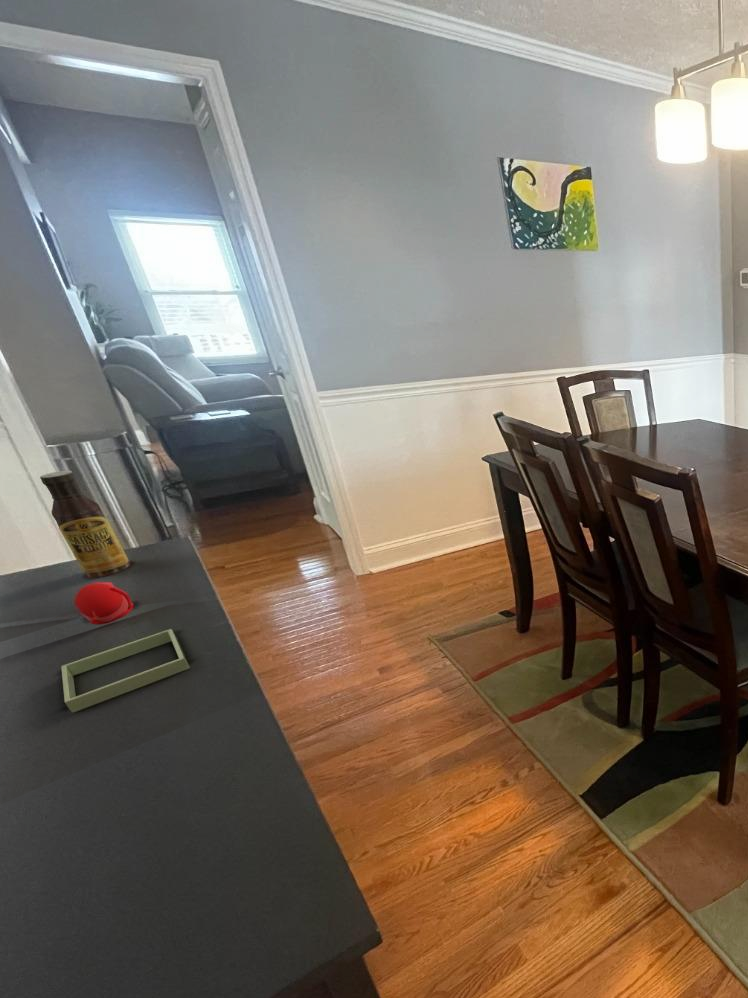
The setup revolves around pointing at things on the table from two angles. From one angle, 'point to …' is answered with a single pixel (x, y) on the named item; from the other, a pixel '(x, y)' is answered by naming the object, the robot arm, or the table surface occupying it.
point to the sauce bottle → (84, 527)
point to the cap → (103, 603)
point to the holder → (127, 683)
